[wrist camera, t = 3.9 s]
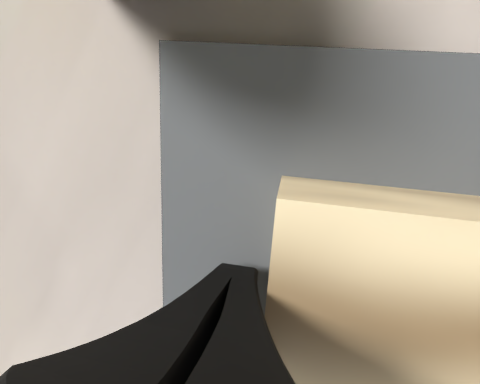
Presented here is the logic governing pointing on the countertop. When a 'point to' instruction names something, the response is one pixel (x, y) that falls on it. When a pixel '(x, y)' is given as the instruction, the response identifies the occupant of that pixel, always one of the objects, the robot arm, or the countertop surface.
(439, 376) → the cream beveled panel
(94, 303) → the countertop surface
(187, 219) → the board
